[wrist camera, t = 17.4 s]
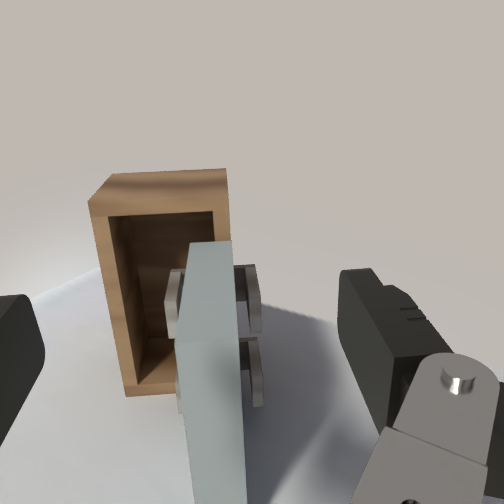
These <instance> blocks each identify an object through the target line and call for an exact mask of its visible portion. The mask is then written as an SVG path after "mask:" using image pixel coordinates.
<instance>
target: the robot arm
mask: <svg viewBox="0 0 504 504" xmlns="http://www.w3.org/2000/svg"><path fill="white" fill-rule="evenodd" d="M337 325H338V334H339V339H340V343H341V345H342V348H343V350H344V352H345V355H346V357H347V359H348V362H349V364H350V367H351V369H352V371H353V374H354V376H355V378H356V381H357V383H358V386H359V388H360V390H361V393H362V395H363V397H364V400H365V402H366V404H367V407H368V409H369V412H370V414H371V416H372V419H373V421H374V423H375V426H376V428H377V431H378V433H379V435H380V437H379V439H378V441H377V443H376V446H375V448H374V450H373V452H372V454H371V457H370V459H369V461H368V463H367V465H366V468H365V470H364V472H363V474H362V476H361V479H360V481H359V483H358V485H357V487H356V490H355V492H354V494H353V496H352V498H351V501H350V503H349V504H482V500H483V495H486V496H491V497H496V498H501V499H504V383H502V382H499V381H498V379H497V377H496V376H495V374H494V373H493V372H492V371H491V370H490V369H489V368H488V367H486V366H485V365H484V364H482V363H480V362H479V361H477V360H475V359H472V358H470V357H467V356H464V355H460V354H455V353H454V352H453V351H452V350H451V348H450V347H449V346H448V345H447V343H446V342H445V341H444V339H443V338H442V337H441V336H440V334H439V333H438V332H437V330H436V329H435V328H434V327H433V325H432V324H431V323H430V321H429V320H426V316H425V315H424V314H423V313H422V311H421V310H419V309H418V306H417V305H416V303H415V302H414V301H413V300H412V299H411V297H410V296H409V295H408V294H407V293H405V292H403V291H402V290H400V289H398V288H397V287H395V286H394V285H387V286H383V284H382V283H381V282H380V280H379V279H378V277H377V276H376V275H375V273H374V272H373V271H372V269H371V268H365V269H351V270H342V271H341V273H340V277H339V297H338V317H337ZM44 360H45V347H44V343H43V339H42V336H41V333H40V330H39V327H38V324H37V320H36V317H35V314H34V311H33V308H32V304H31V302H30V300H29V298H28V297H27V296H26V295H24V294H20V295H8V296H0V446H1V444H2V443H3V441H4V439H5V437H6V435H7V433H8V431H9V430H10V428H11V426H12V424H13V422H14V420H15V418H16V417H17V415H18V413H19V411H20V409H21V407H22V405H23V404H24V402H25V400H26V398H27V396H28V394H29V392H30V391H31V389H32V387H33V385H34V383H35V381H36V379H37V378H38V376H39V374H40V372H41V370H42V368H43V365H44Z"/></svg>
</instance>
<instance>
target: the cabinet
mask: <svg viewBox="0 0 504 504" xmlns="http://www.w3.org/2000/svg"><path fill="white" fill-rule="evenodd" d="M88 206H89V211H90V217H91V222H92V227H93V231H94V236H95V242H96V247H97V252H98V257H99V262H100V268H101V273H102V278H103V283H104V288H105V293H106V298H107V303H108V308H109V313H110V319H111V324H112V329H113V334H114V339H115V344H116V349H117V354H118V359H119V364H120V370H121V375H122V380H123V385H124V390H125V395H126V397H129V396H143V395H156V394H169V393H176V396H177V404H178V411H179V413H183V408H182V400H181V392H180V384H179V377H178V369H177V361H176V353H175V345H174V342H175V336H176V330H177V323H178V317H179V310H180V304H181V298H182V291H183V285H184V278H185V272H186V265H187V259H188V253H189V246H190V243H198V242H216V241H231V235H230V217H229V199H228V186H227V174H226V168H224V169H203V170H182V171H163V172H162V171H161V172H140V173H120V174H112V175H111V176H110V177H109V178H108V179H107V180H106V181H105V182H104V184H103V185H102V186H101V187H100V188H99V189H98V190H97V191H96V193H95V194H94V195H93V196H92V197H91V198H90V199H89V201H88ZM233 267H234V282H235V296H236V301H247V309H248V317H249V325H250V333H258V332H262V330H261V295H260V290H259V284H258V279H257V274H256V269H255V264H251V265H236V266H235V265H234V266H233ZM238 340H239V358H240V370H249V372H250V381H251V391H252V400H253V407H263V375H262V368H261V361H260V355H259V348H258V341H257V337H254V338H239V339H238Z"/></svg>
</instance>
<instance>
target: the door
mask: <svg viewBox="0 0 504 504" xmlns="http://www.w3.org/2000/svg"><path fill="white" fill-rule="evenodd" d="M174 345H175V353H176V361H177V369H178V377H179V384H180V392H181V400H182V408H183V415H184V423H185V431H186V439H187V447H188V454H189V462H190V470H191V478H192V486H193V493H194V501H195V504H247V490H246V471H245V453H244V434H243V415H242V396H241V377H240V358H239V340H238V325H237V311H236V296H235V282H234V267H233V253H232V241H216V242H198V243H190V246H189V253H188V259H187V265H186V272H185V278H184V285H183V291H182V298H181V304H180V310H179V317H178V323H177V330H176V336H175V342H174Z"/></svg>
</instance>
